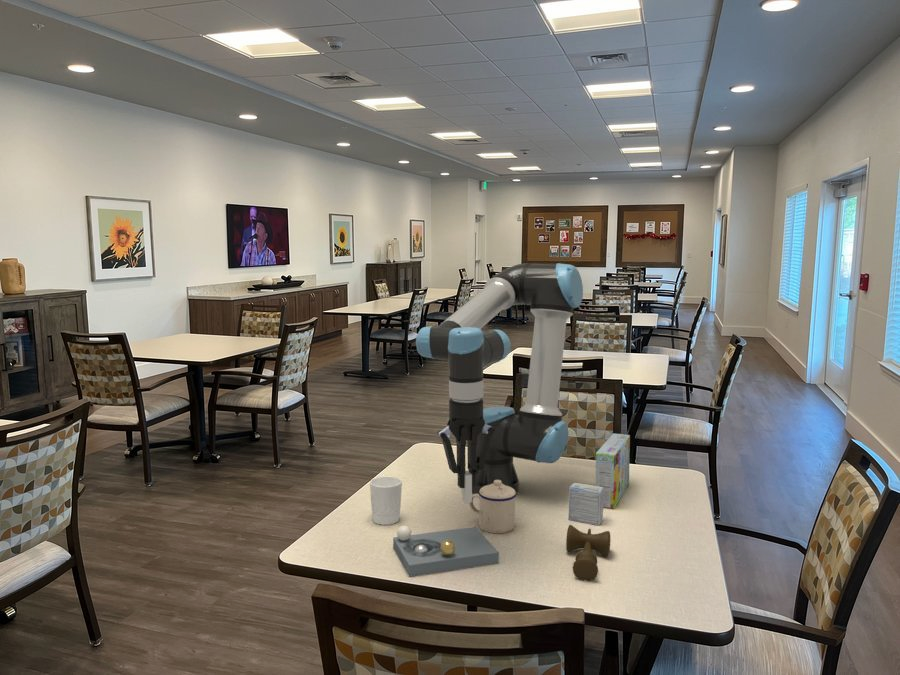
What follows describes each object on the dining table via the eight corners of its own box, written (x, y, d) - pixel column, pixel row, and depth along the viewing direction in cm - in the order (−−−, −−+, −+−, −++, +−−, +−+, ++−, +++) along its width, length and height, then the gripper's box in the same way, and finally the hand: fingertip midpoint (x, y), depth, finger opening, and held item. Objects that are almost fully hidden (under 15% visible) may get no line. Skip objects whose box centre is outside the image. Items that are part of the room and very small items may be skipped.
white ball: (409, 536, 148) (409, 522, 148) (412, 542, 145) (412, 528, 145) (395, 537, 147) (395, 524, 147) (398, 543, 144) (398, 530, 144)
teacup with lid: (520, 523, 162) (521, 478, 161) (507, 537, 154) (508, 489, 153) (476, 514, 168) (477, 470, 166) (461, 527, 160) (462, 481, 158)
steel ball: (428, 546, 145) (417, 539, 144) (433, 552, 142) (421, 545, 141) (420, 558, 144) (409, 551, 143) (424, 564, 141) (413, 558, 140)
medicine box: (603, 519, 165) (604, 486, 164) (599, 526, 161) (600, 492, 160) (572, 514, 168) (573, 481, 167) (567, 520, 164) (568, 487, 163)
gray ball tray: (475, 536, 154) (475, 526, 154) (498, 563, 141) (498, 552, 141) (393, 547, 148) (393, 537, 148) (409, 576, 135) (409, 565, 135)
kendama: (560, 581, 135) (568, 538, 154) (608, 588, 133) (609, 544, 152) (562, 554, 134) (569, 514, 153) (610, 561, 132) (611, 519, 151)
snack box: (610, 482, 193) (612, 432, 191) (629, 485, 190) (632, 434, 188) (593, 506, 174) (595, 451, 172) (614, 510, 171) (616, 454, 169)
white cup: (396, 527, 159) (396, 488, 158) (365, 524, 161) (365, 485, 159) (405, 515, 167) (405, 477, 166) (375, 512, 168) (375, 475, 167)
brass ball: (452, 550, 141) (452, 536, 141) (457, 557, 138) (457, 543, 138) (438, 552, 140) (438, 538, 140) (442, 559, 137) (442, 545, 137)
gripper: (487, 392, 148) (487, 490, 152) (432, 397, 144) (434, 498, 148) (500, 399, 141) (500, 502, 145) (443, 405, 137) (444, 511, 141)
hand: (466, 500), depth 147 cm, fingers closed
